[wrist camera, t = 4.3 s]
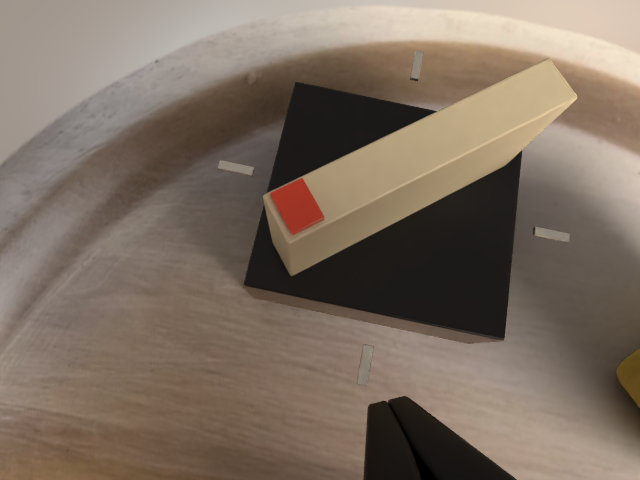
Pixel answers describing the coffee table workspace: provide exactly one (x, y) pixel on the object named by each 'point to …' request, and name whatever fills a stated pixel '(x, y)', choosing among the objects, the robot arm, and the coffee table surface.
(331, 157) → the dial panel
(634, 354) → the flower pot
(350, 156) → the pointer
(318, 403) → the coffee table surface
